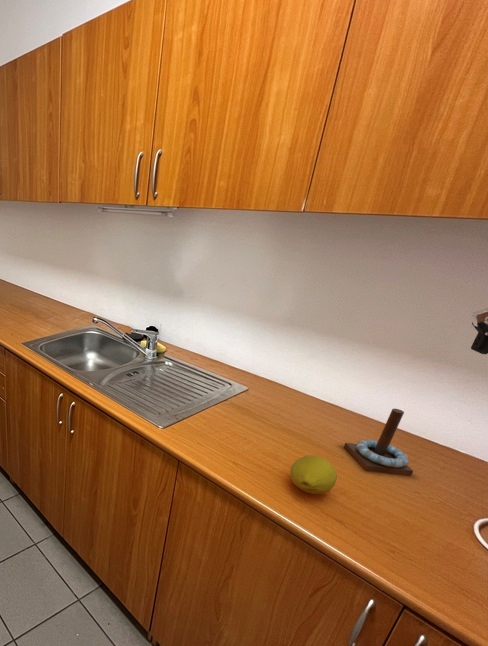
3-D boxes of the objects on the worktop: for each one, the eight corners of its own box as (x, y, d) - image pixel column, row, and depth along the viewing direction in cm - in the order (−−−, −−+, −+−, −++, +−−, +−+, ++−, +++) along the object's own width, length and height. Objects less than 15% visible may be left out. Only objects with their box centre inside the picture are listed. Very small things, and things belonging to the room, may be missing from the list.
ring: (389, 447, 99) (392, 440, 99) (417, 471, 91) (420, 464, 90) (347, 442, 101) (349, 436, 101) (370, 466, 93) (373, 459, 92)
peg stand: (384, 451, 100) (407, 402, 94) (410, 476, 92) (437, 423, 86) (343, 447, 102) (363, 399, 96) (365, 470, 94) (388, 419, 88)
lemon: (300, 470, 94) (310, 443, 91) (339, 491, 88) (351, 462, 85) (274, 486, 90) (284, 457, 87) (313, 509, 83) (325, 480, 80)
